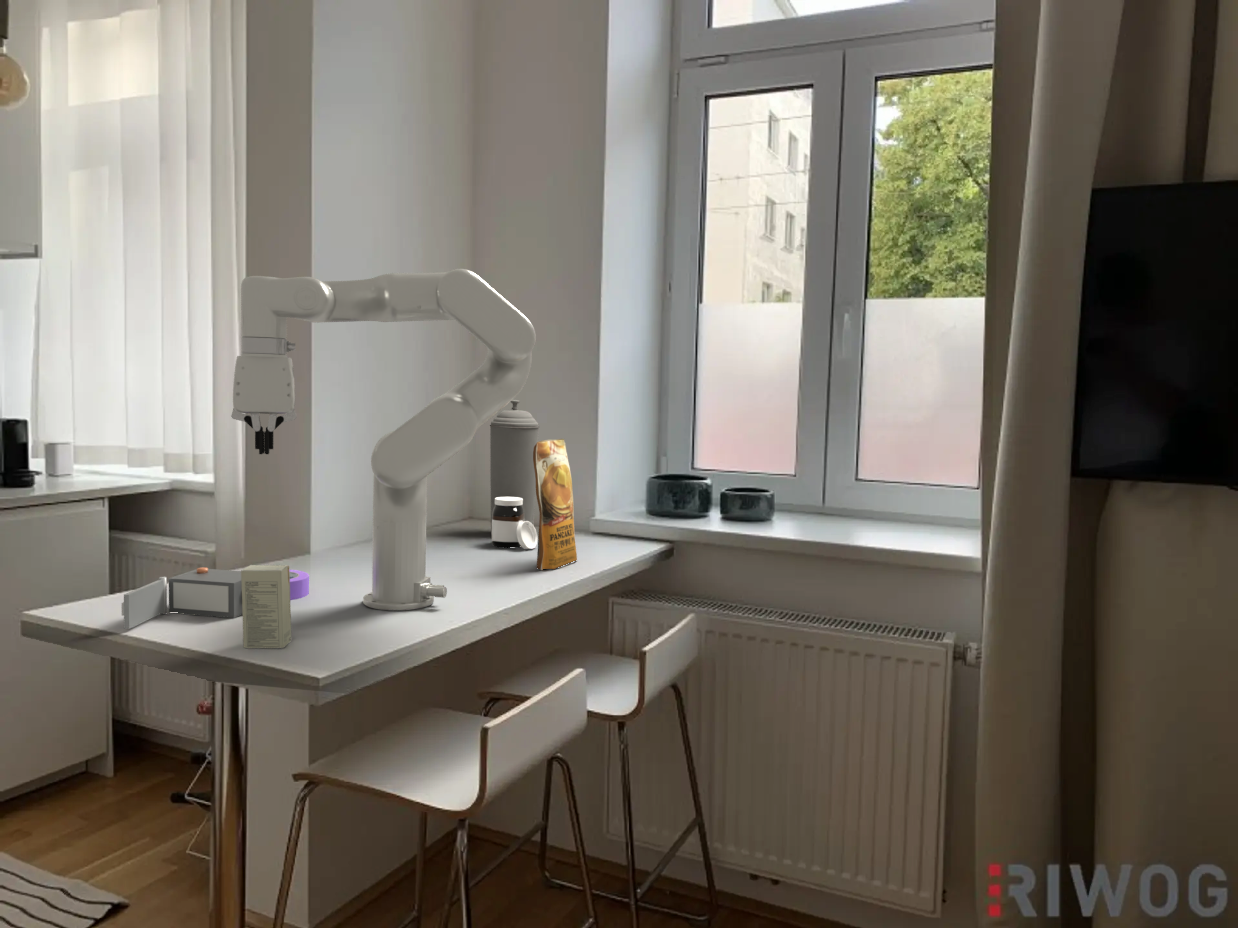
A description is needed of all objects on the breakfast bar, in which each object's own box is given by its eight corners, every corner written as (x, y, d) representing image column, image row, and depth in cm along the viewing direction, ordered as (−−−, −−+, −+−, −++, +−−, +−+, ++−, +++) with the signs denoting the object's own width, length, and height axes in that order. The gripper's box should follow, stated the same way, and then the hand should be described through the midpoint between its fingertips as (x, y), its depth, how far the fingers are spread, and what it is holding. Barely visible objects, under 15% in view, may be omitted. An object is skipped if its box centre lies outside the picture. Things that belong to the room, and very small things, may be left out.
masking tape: (317, 589, 191) (317, 569, 191) (296, 603, 180) (296, 583, 179) (257, 587, 192) (257, 567, 191) (232, 601, 180) (232, 580, 180)
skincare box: (292, 641, 155) (292, 564, 154) (283, 649, 151) (283, 570, 150) (250, 640, 155) (250, 563, 154) (240, 648, 151) (240, 569, 149)
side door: (130, 631, 157) (129, 592, 157) (120, 630, 157) (119, 592, 157) (168, 612, 169) (167, 576, 169) (159, 612, 169) (158, 576, 169)
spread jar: (495, 541, 248) (496, 495, 247) (540, 543, 248) (541, 497, 247) (487, 550, 236) (488, 501, 235) (534, 552, 236) (535, 503, 235)
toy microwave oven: (268, 606, 176) (268, 569, 176) (240, 618, 167) (240, 579, 167) (199, 600, 178) (199, 564, 178) (168, 613, 169) (167, 574, 169)
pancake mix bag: (519, 569, 215) (522, 440, 212) (560, 555, 232) (563, 436, 229) (547, 573, 212) (550, 442, 209) (586, 559, 229) (589, 438, 227)
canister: (528, 540, 251) (531, 401, 248) (480, 537, 254) (483, 399, 250) (542, 532, 263) (545, 400, 260) (496, 529, 266) (499, 398, 263)
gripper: (309, 350, 179) (309, 452, 181) (220, 347, 174) (220, 451, 176) (309, 350, 172) (308, 456, 173) (216, 346, 167) (216, 455, 169)
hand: (264, 453), depth 175 cm, fingers closed
